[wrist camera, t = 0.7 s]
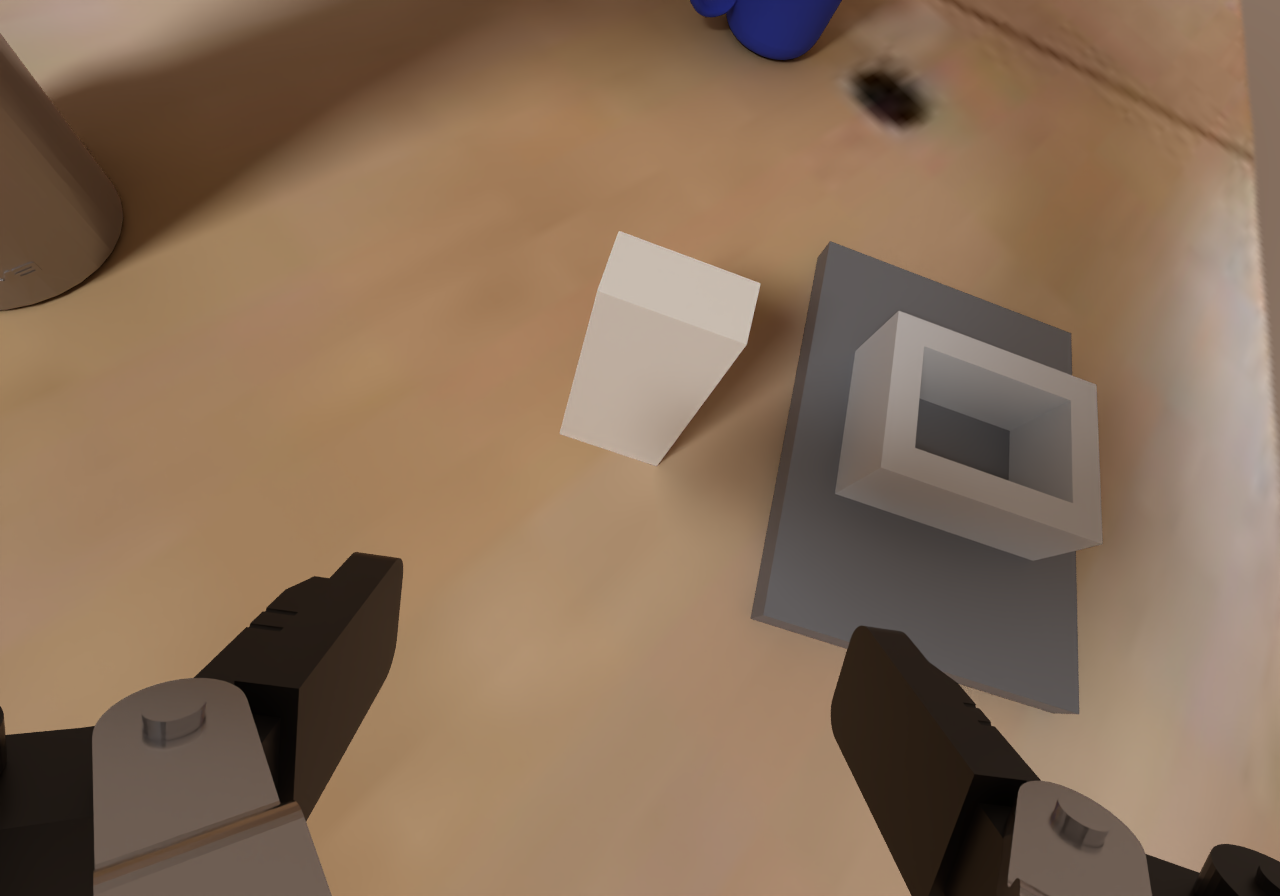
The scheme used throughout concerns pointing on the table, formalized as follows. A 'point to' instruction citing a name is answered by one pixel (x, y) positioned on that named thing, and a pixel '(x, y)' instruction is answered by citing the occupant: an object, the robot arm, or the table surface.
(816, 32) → the mug
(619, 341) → the rectangular block
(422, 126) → the table surface
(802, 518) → the block insertion holder
